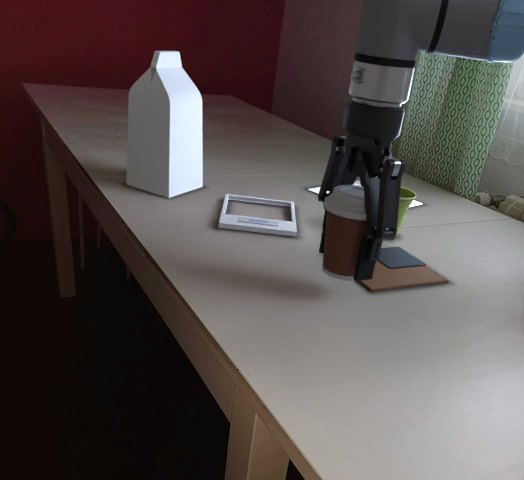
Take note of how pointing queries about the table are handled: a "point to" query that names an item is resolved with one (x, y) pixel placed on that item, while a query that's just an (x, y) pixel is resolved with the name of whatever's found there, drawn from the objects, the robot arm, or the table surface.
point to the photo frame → (258, 223)
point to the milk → (165, 129)
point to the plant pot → (404, 205)
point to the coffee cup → (344, 230)
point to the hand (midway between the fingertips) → (344, 264)
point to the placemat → (400, 271)
